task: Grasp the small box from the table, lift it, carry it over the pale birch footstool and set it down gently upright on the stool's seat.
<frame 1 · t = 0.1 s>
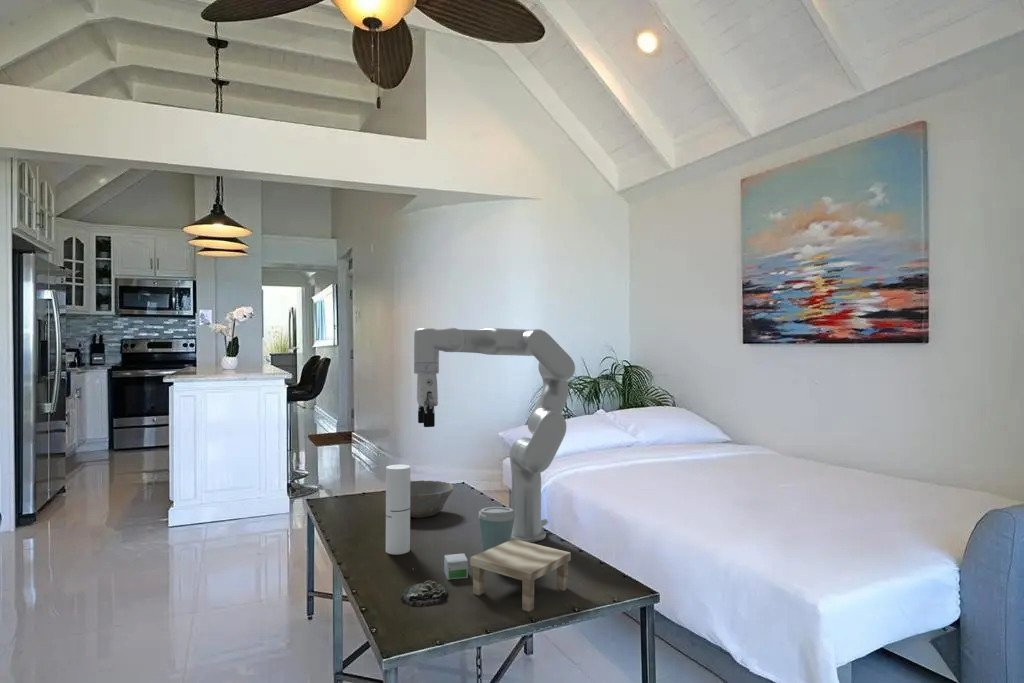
hand: (426, 424, 184), 37 cm above the table, tool pointing down, fingers open, 9 cm apart
dark grey rock: (423, 598, 148), on the table
ceramic bowl: (422, 515, 220), on the table
small box: (456, 576, 161), on the table
disposable coffee cup: (496, 561, 172), on the table
footstool: (520, 590, 151), on the table
cylindrical container: (397, 551, 181), on the table
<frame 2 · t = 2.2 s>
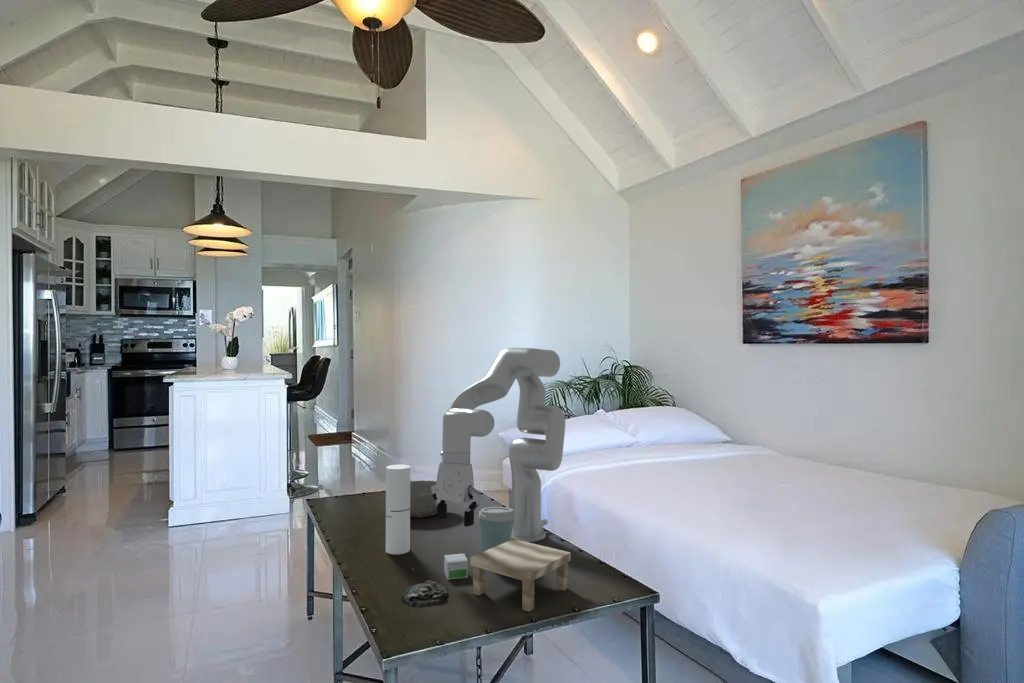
hand: (455, 522, 161), 14 cm above the table, tool pointing down, fingers open, 9 cm apart
nothing on the table moved.
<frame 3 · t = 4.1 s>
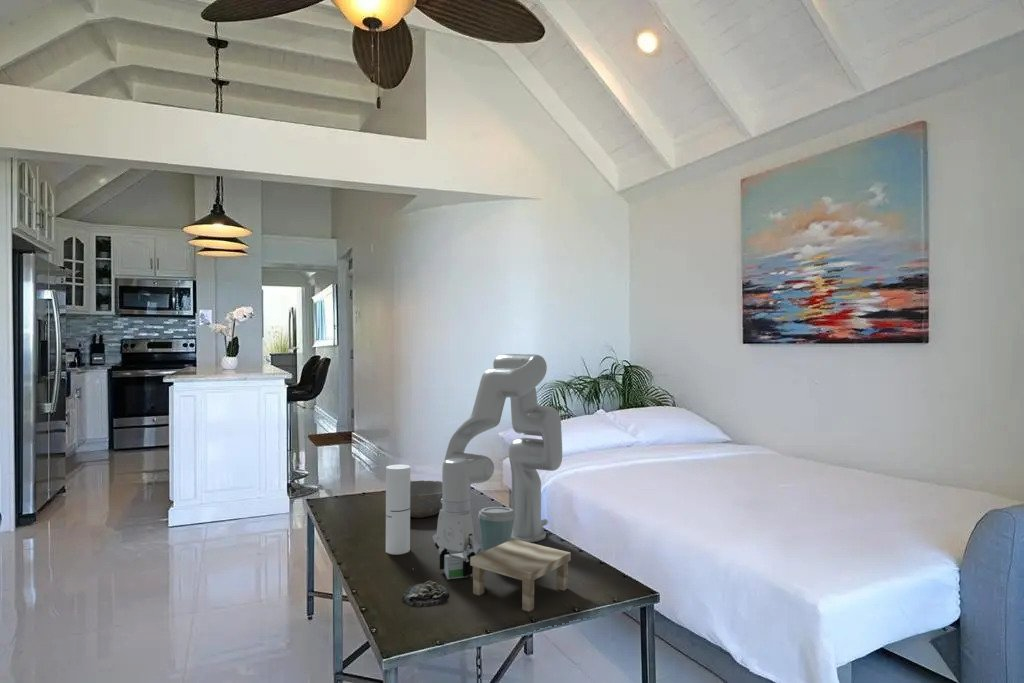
hand: (455, 571, 161), 1 cm above the table, tool pointing down, fingers closed on small box, 7 cm apart
small box: (456, 575, 161), on the table, touching gripper
everything else where it was.
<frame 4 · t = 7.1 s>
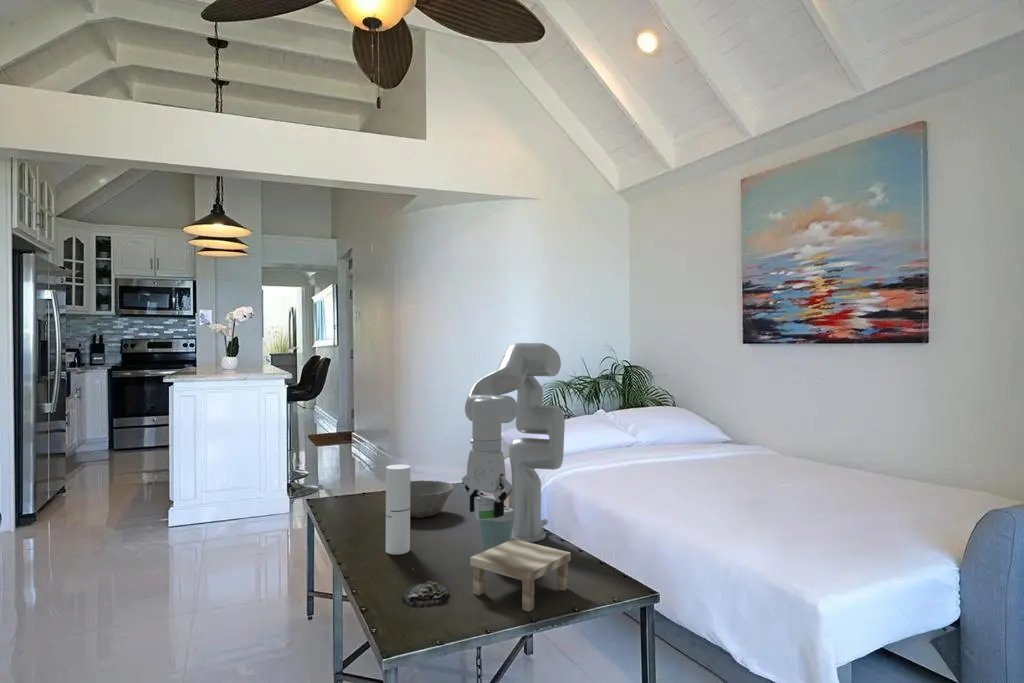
hand: (486, 513, 157), 18 cm above the table, tool pointing down, fingers closed on small box, 7 cm apart
small box: (486, 518, 157), point 17 cm above the table, touching gripper
everything else where it was.
when the fingers open (11 cm above the table, at t = 10.3 s): small box drops 1 cm, resting on footstool.
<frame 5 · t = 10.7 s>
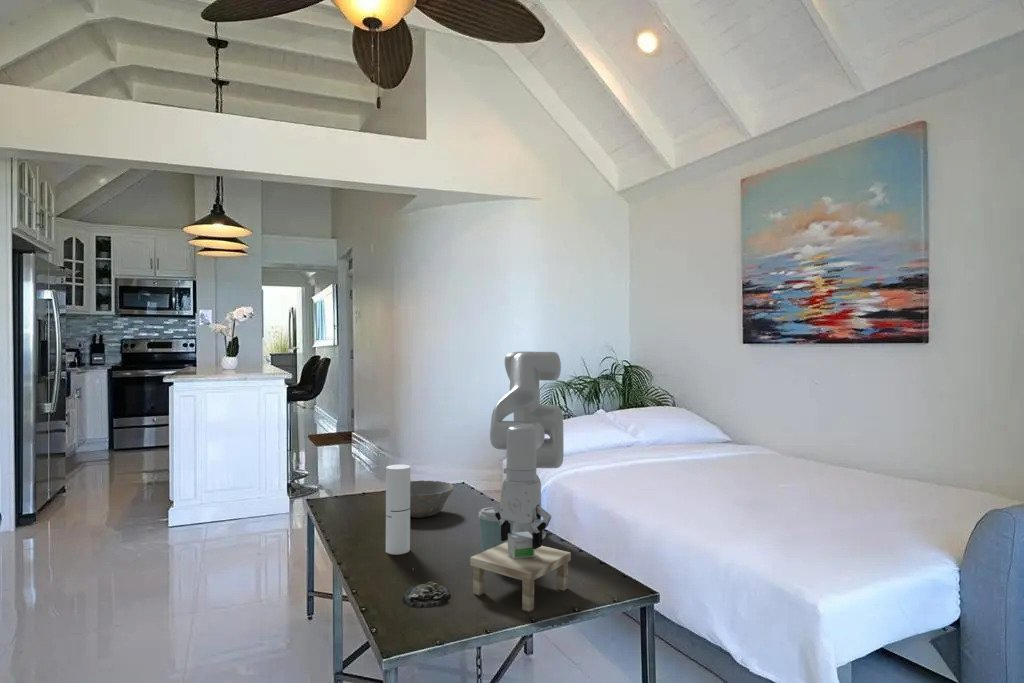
hand: (521, 543, 151), 12 cm above the table, tool pointing down, fingers open, 9 cm apart
small box: (521, 555, 151), point 9 cm above the table, touching footstool
everything else where it was.
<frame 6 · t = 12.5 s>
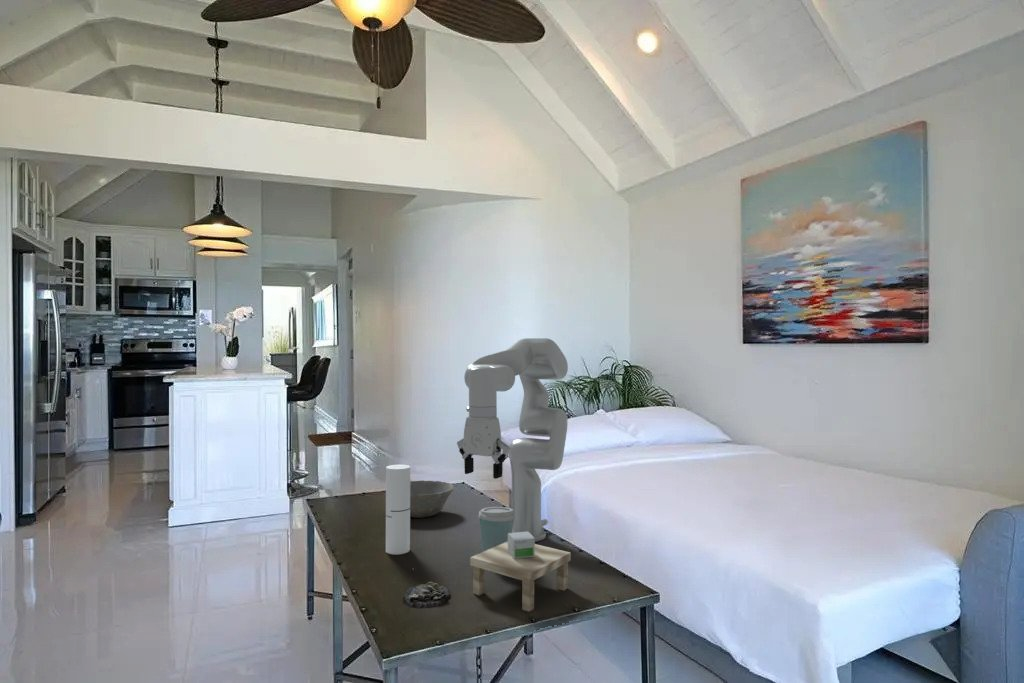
hand: (483, 475, 164), 26 cm above the table, tool pointing down, fingers open, 9 cm apart
nothing on the table moved.
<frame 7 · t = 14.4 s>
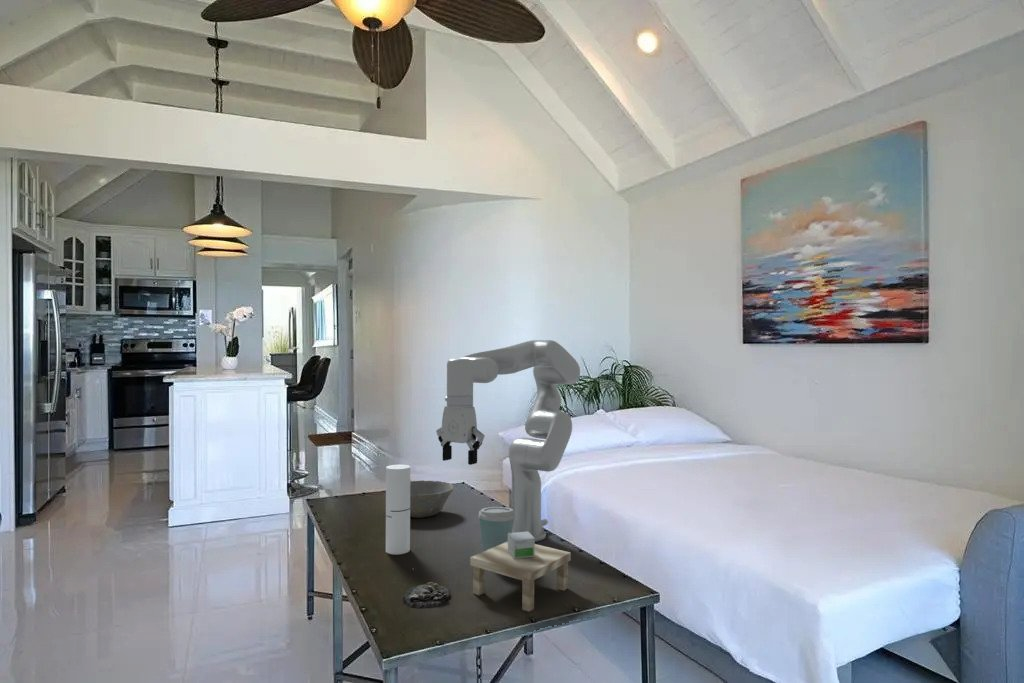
hand: (459, 461, 172), 28 cm above the table, tool pointing down, fingers open, 9 cm apart
at the end: small box inside the target area on the footstool (0.1 cm from its centre), point 8.8 cm above the footstool's base; small box tilted 0°; the gripper is holding nothing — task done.
